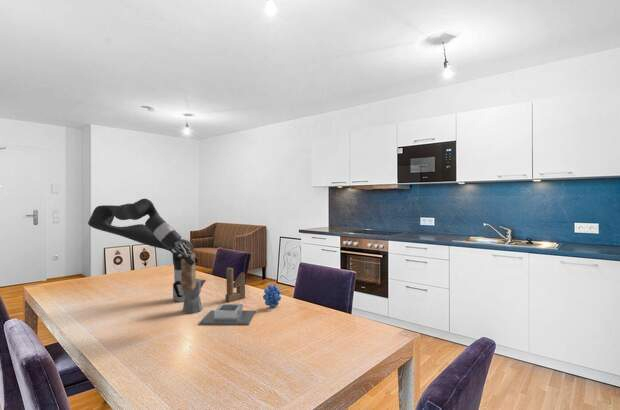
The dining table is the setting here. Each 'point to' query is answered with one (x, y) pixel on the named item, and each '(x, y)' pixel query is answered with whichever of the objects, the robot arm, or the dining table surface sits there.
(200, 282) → the coffeepot
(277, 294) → the grapes
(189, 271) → the walnut post
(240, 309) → the keeper cradle
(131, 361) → the dining table surface
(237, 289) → the brown wooden pegged bracket
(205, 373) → the dining table surface
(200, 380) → the dining table surface
